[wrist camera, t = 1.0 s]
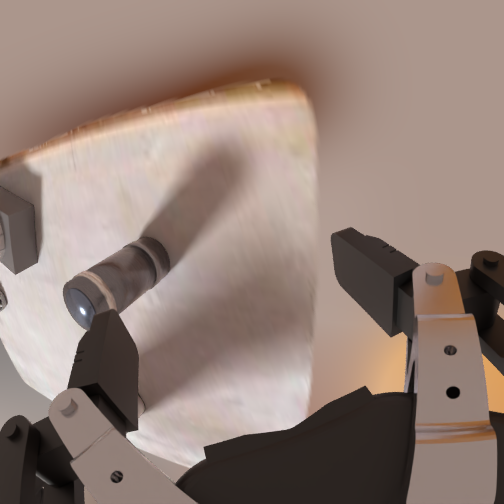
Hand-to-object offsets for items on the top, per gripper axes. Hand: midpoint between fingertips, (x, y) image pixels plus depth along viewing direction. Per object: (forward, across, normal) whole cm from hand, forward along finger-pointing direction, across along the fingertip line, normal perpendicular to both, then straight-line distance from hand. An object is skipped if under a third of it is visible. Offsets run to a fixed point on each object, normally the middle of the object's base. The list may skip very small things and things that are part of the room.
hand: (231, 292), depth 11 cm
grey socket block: (+40, -31, +1) cm, 50 cm away
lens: (+23, -7, -7) cm, 25 cm away
